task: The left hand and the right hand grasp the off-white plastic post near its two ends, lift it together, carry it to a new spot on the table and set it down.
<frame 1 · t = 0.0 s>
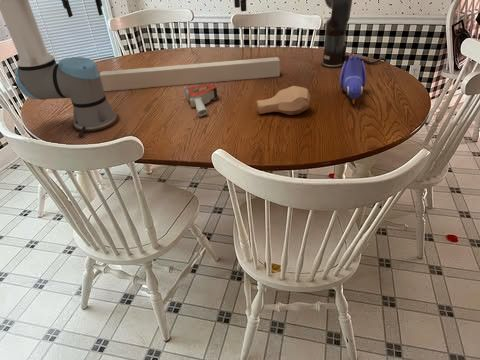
left hand: (86, 15, 157), 28 cm above the table, tool pointing down, fingers open, 13 cm apart
right hand: (240, 9, 144), 29 cm above the table, tool pointing down, fingers open, 8 cm apart
post: (192, 81, 162), on the table
squash: (283, 112, 132), on the table
tape dispenser: (200, 104, 141), on the table
toy: (351, 96, 140), on the table
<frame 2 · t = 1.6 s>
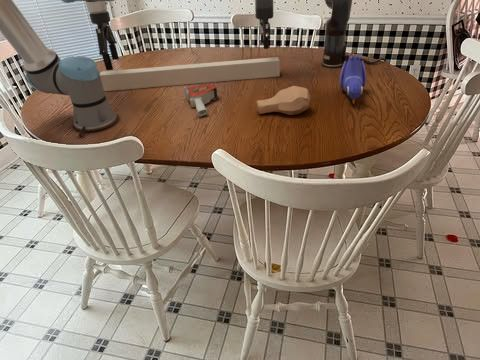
left hand: (112, 64, 155), 11 cm above the table, tool pointing down, fingers open, 13 cm apart
right hand: (264, 45, 156), 13 cm above the table, tool pointing down, fingers open, 8 cm apart
nothing on the table moved.
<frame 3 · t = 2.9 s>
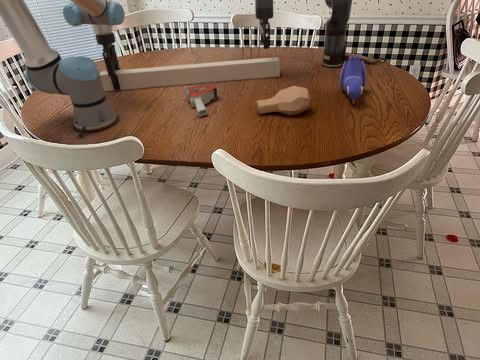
left hand: (118, 86, 161), 1 cm above the table, tool pointing down, fingers closed on post, 5 cm apart
right hand: (264, 45, 156), 13 cm above the table, tool pointing down, fingers open, 8 cm apart
post: (192, 81, 162), on the table, touching left hand
everything else where it was.
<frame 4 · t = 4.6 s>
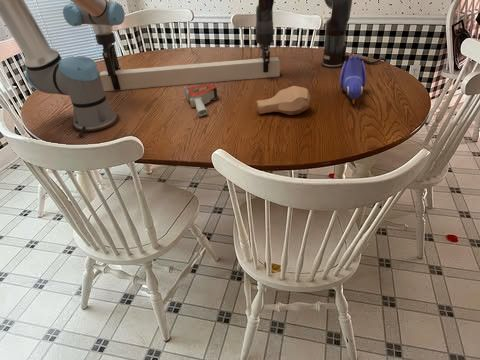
left hand: (118, 86, 161), 1 cm above the table, tool pointing down, fingers closed on post, 5 cm apart
right hand: (264, 69, 162), 3 cm above the table, tool pointing down, fingers closed on post, 5 cm apart
post: (192, 81, 162), on the table, touching left hand, right hand
everything else where it was.
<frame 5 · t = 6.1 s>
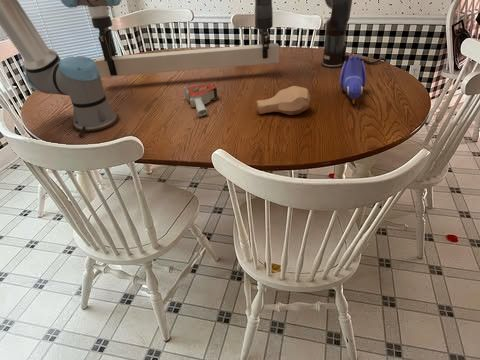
left hand: (115, 72, 158), 7 cm above the table, tool pointing down, fingers closed on post, 5 cm apart
right hand: (264, 56, 160), 9 cm above the table, tool pointing down, fingers closed on post, 5 cm apart
post: (190, 68, 160), point 6 cm above the table, touching left hand, right hand
everything else where it was.
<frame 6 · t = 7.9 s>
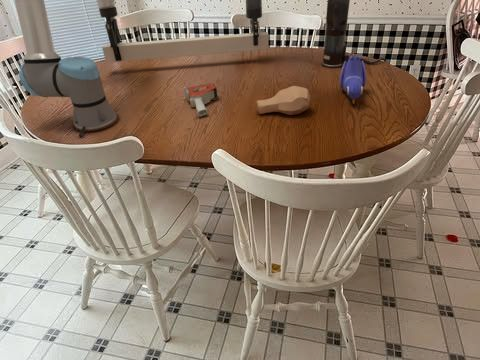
left hand: (119, 58, 174), 7 cm above the table, tool pointing down, fingers closed on post, 5 cm apart
right hand: (255, 43, 176), 9 cm above the table, tool pointing down, fingers closed on post, 5 cm apart
post: (188, 54, 176), point 6 cm above the table, touching left hand, right hand
everything else where it was.
when the left hand's fingers open (2 cm above the table, at t = 9.3 s): post drops 1 cm, on the table.
when the right hand's fingers open (4 cm above the table, at t = 9.5 s): post stays where it is, on the table.
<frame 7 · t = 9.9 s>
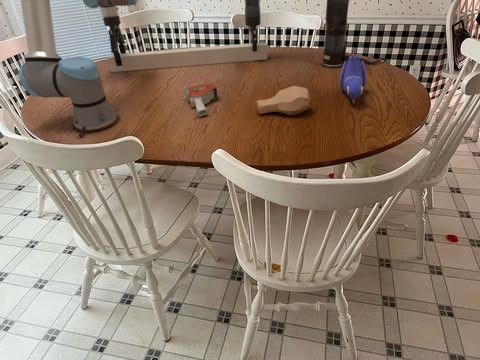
left hand: (122, 61, 179), 4 cm above the table, tool pointing down, fingers open, 13 cm apart
right hand: (253, 48, 181), 5 cm above the table, tool pointing down, fingers open, 8 cm apart
post: (190, 64, 183), on the table
everything else where it was.
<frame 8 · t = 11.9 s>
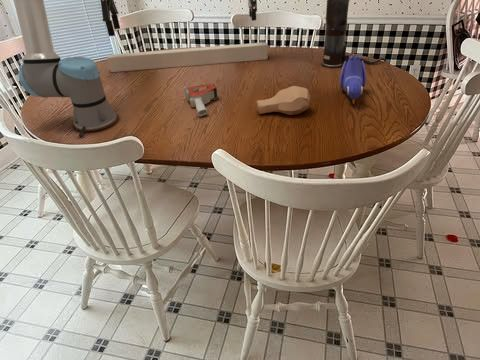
left hand: (114, 32, 171), 18 cm above the table, tool pointing down, fingers open, 13 cm apart
right hand: (252, 18, 173), 20 cm above the table, tool pointing down, fingers open, 8 cm apart
nothing on the table moved.
at the end: post inside the target area (0.4 cm from its centre), on the table; post tilted 0°; post never tilted more than 1° during the clip; both hands held the post at the same time; the left hand is holding nothing; the right hand is holding nothing; post at rest at the end (0.0 cm/s) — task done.
